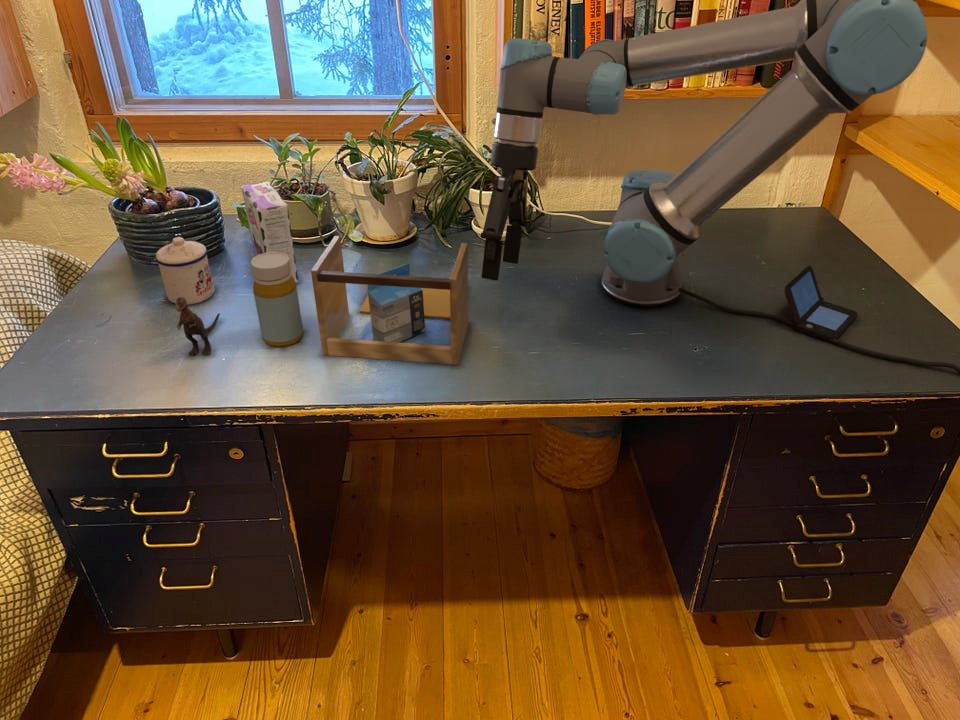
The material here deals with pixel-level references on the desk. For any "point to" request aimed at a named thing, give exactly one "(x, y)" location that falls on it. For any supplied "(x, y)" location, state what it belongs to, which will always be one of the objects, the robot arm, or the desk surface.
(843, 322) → the handheld console
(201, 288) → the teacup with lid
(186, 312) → the dinosaur model
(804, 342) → the desk surface
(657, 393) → the desk surface
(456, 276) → the frame
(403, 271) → the label tape box
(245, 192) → the candy box
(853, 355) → the desk surface
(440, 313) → the felt pad
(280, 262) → the bottle
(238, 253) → the desk surface
